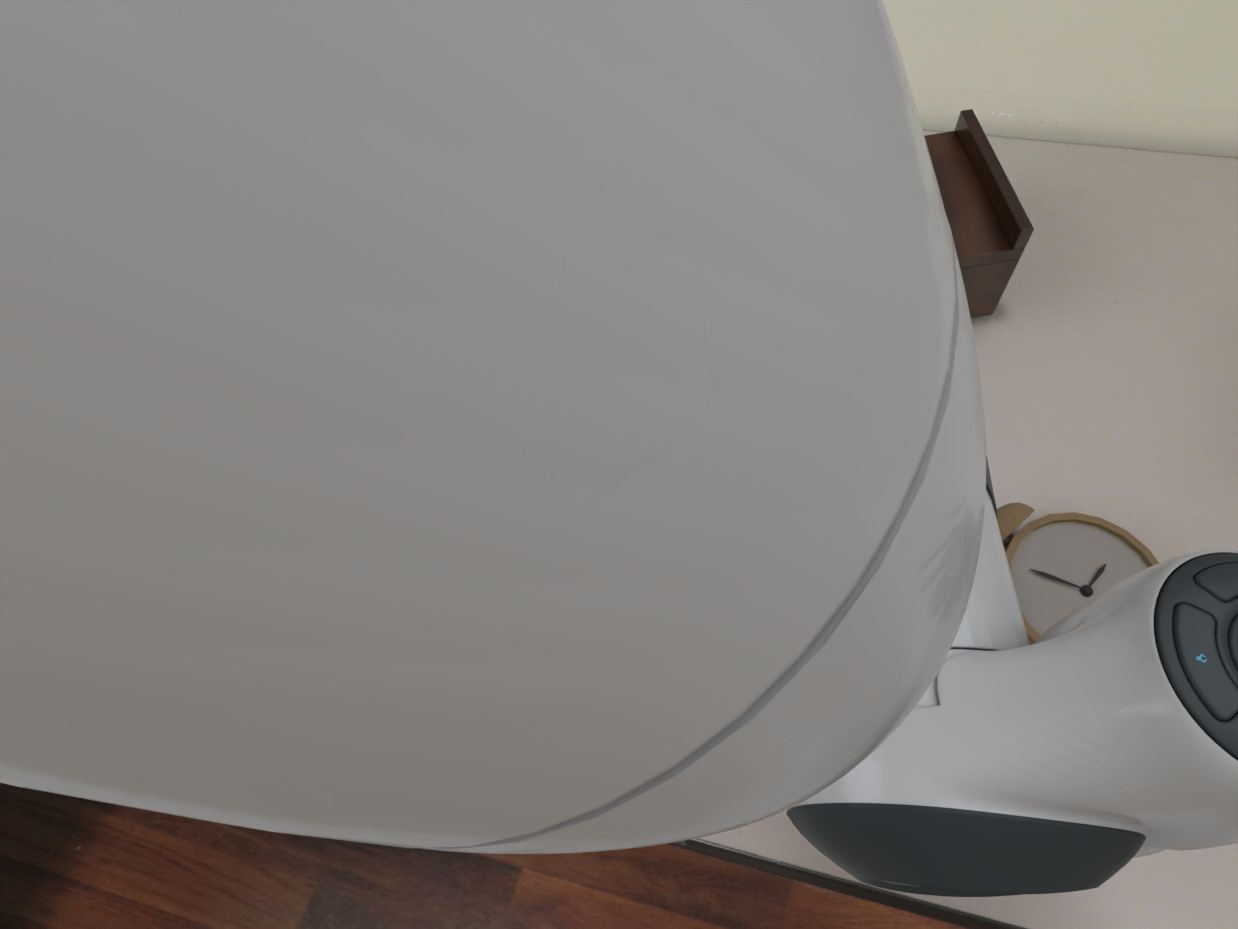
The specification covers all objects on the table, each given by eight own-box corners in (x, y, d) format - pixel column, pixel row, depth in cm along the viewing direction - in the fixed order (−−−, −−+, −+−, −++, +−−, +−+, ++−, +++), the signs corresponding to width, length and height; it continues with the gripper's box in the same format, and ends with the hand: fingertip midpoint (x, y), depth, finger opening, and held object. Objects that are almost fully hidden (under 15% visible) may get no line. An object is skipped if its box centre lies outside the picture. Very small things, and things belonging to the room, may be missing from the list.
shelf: (878, 331, 70) (903, 250, 61) (837, 216, 77) (854, 127, 68) (993, 313, 70) (1034, 229, 61) (941, 199, 77) (972, 108, 68)
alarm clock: (1170, 703, 51) (942, 606, 53) (1121, 713, 55) (912, 624, 57) (1189, 548, 56) (979, 463, 57) (1142, 570, 60) (948, 490, 62)
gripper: (855, 862, 35) (816, 874, 48) (1326, 798, 35) (1167, 827, 47) (821, 715, 39) (792, 762, 51) (1253, 655, 38) (1121, 717, 50)
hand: (976, 793), depth 49 cm, fingers open, 8 cm apart
